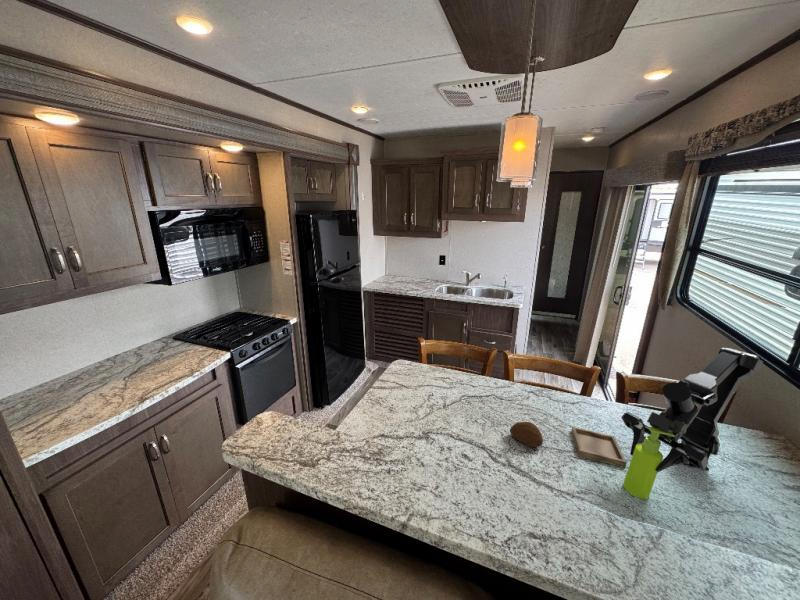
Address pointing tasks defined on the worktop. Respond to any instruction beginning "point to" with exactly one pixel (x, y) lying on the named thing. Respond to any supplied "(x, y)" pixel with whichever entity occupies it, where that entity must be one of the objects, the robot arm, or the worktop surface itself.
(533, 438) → the potato
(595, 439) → the tray
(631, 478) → the soap dispenser
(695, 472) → the worktop surface
